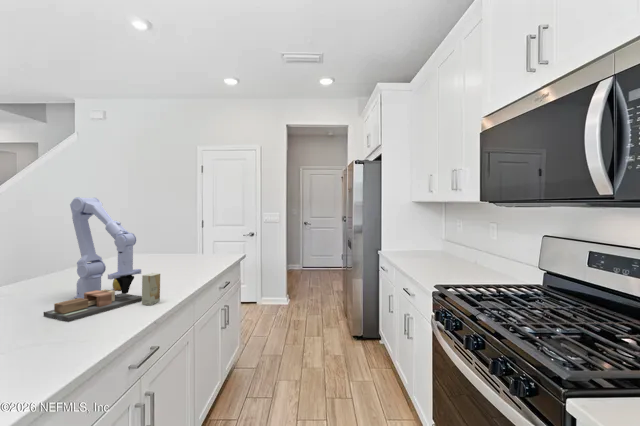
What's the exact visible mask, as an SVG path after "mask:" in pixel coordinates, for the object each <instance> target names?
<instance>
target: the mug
mask: <svg viewBox="0 0 640 426" xmlns="http://www.w3.org/2000/svg"><path fill="white" fill-rule="evenodd" d="M112 280H113V281H112V289H113V291H115V292H116V291H121V287H120V285H119V283H118V281H117V280H116V278H114V279H112Z"/></svg>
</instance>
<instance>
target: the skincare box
mask: <svg viewBox="0 0 640 426" xmlns="http://www.w3.org/2000/svg"><path fill="white" fill-rule="evenodd" d="M141 277H142V278H141V279H142V280H141V296H142V301H141V305H142V306H143V305H145V306H152V305H155V304H158V303H159V302H161V273H157V272H151V273H146V274H143V275H141Z"/></svg>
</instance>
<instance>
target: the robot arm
mask: <svg viewBox="0 0 640 426" xmlns="http://www.w3.org/2000/svg"><path fill="white" fill-rule="evenodd" d="M69 206H70V211H71V215H72V216H71V219H72V224H73V226H74V232H75V235H76V239H77V243H78V244H77V245H78V248H79V249H78V250H79V252H80V255H81V258H80V259H79V260H78V261H77V262H76V265H77V268H76V273H77V275H78V277H79V279H78V280H77V282H76V295H75V296H74V299H77V298H83V299H84V293H86V292H91V291H95V290H98V291H100V290H102V277H103V274H104V273H105V272H106V271H107V270H106V268H107V267H106V266H107V265H106V264H105V262H104V261H103V259H102V256H100V255H98V254H97V252H96V248H95V245H94V244H95V243H94V240H93V236H92V232H91V227H90V224H89V219H90V218H91V217H92V216H94V217H96V218H97V219H98V220H100V222H102V224H104V226H105V231H106V232H107V233H108V234H109V235H110V236H111V238H113V240H114V245H115V247H116V252H117V271H116V272H113V273H108V274H107V280H114V278H116V280H117V281H118V283H119V285H120V287H121V290H120V291H121V293H124V294H129V291H130V287H131V285H132V282H133V280H134V279H135V275H141V274H142V269H141V268H135V269H134V267H133V266H134V265H133V264H134V246H135V245H136V243H137V236H136V235H135V233H133V232H130V231H128V230H127V229H126V228H125V227H124V226H123V225H122V222H120V221H117V220H113V218H112V217H111V216H110V215H109V213H108V212H107V211H106V209H105V207H103V203H102V201H100V199H99V198H97V197H80V196H78V197H74V198H73V199H72V200H71V203H70V204H69Z"/></svg>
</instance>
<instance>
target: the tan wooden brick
mask: <svg viewBox="0 0 640 426" xmlns="http://www.w3.org/2000/svg"><path fill="white" fill-rule="evenodd" d="M100 291H104V292H110V293H112V301H115V295H116V291H114V290H112V289H111V290H110V289H101V290H100ZM94 304H97V299H96V300H92V301H88V299H83V298H73V299H68V300H65V301H60V302H57V303H54V304H53V305H54V307H53V310H54V312H57V313H62V314H64V313H68V312H72V311H76V310H79V309H83V308H87V307H88V306H90V305H94Z"/></svg>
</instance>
